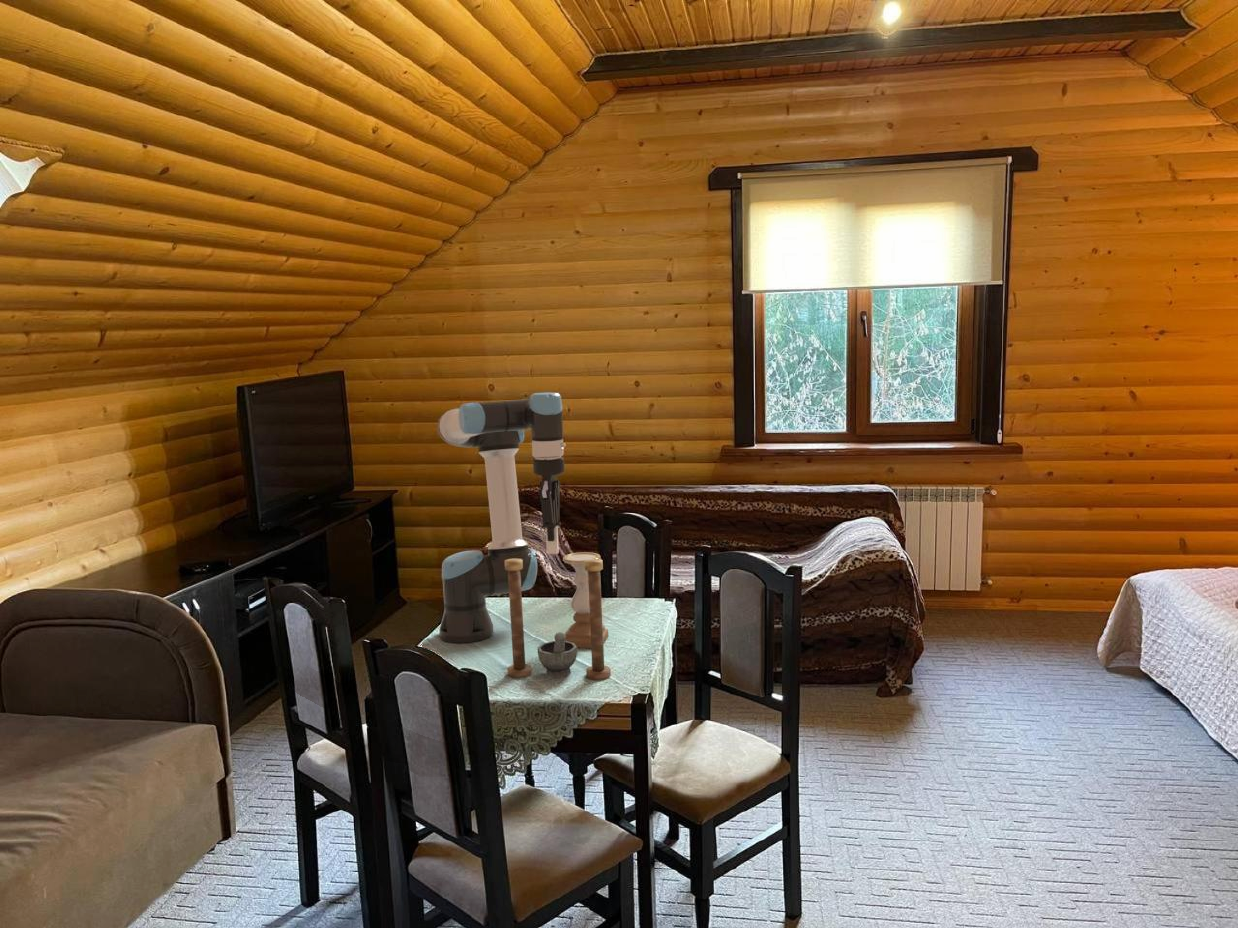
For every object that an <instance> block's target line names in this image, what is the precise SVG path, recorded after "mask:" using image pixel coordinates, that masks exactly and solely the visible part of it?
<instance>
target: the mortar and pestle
mask: <svg viewBox="0 0 1238 928" xmlns="http://www.w3.org/2000/svg"><path fill="white" fill-rule="evenodd" d="M565 639H566V635H565V633H564V632H557V633H555V635H554V640H553V641H548V642H543V643H542V644H540V645H539V646H537V655H538V660H539V661H540V664H541V665H542V667H543V668H544V669H545V675H546V677H547V678H551V679H563V678H567V677H569V676H570V675H571V673H572V672H571V671H572V670H571V667H572V666H573V665H574V664H575V662H576V659H577V656H578V648H577V646H576V645H575V643H572V642H568V641H565Z"/></svg>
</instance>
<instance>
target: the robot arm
mask: <svg viewBox="0 0 1238 928" xmlns="http://www.w3.org/2000/svg"><path fill="white" fill-rule="evenodd" d="M563 409H564V408H563V403H562V396H561V394H560V393H559V392H550V391H549V392H546V391H545V392H535V393H532V394H531V395H530V397H528V398H527V397H526V398H523V399H515V400H514V399H511V400H499V401H482V402H477V401H475V402H474V401H472V402H469V403H468V402H467V403H463V404H460V407H457V408H453V409H450V410H447V411H445V412H444V413H443V414H442V415H440V418H439V419H438V423H437V432H438V435H439V437H440V438H441V439H442V441H444V442H446V444H449V445H452V446H455V447H458V448H477V449H478V450H477V451H478V454H479V455H480V456H481V457H482V458H483V459H484V464H485V465H484V467H485V475H486V486H487V487H486V488H487V498H488V509H489V519H490V526H491V527H490V529H491V530H490V531H491V539H492V541H491V543H490V544H489V546H488V547H487V553H488V554H484V553H483V551H481V550H476V549H474V550H465V551H463V550H462V551H460V552H456V553H453V554H451V555H449V556H447V557H445V558H444V560H443V561H442V562H441V563H442V564H441V579H442V580H441V581H442V591H443V592H442V593H443V607H444V608H443V609H444V611H443V615H442V618H441V622H440V625H439V638H440V640H442V641H444V642H447V643H451V644H452V643H454V644H465V643H466V644H467V643H474V642H479V641H483V640H485V639H488V638H490V637H491V636H493V634H494V633H495V632H494V623H493V620H492V619H491V616H490V613H489V611H488V609H487V602H486V601H487V599H486V598H487V597H490V596H496V595H497V596H498V595H504V594H505V595H506V594H509V581H508V571H507V570H505V560H507V559H515V558H517V559H522V560H523V569H521V570H520V576H521V592H525V591H528V590H530V589H532V588H533V587H534V586H535V582H536V580H537V575H538V560H537V555H536V551H535V550H534V549H532V548H529V547H530V546H529V543H528V542H527V541H526V540H525V539H524V538H523V533H522V532H523V530H522V529H523V528H522V520H521V508H520V499H519V491H518V490H519V489H518V478H517V470H516V459H515V456H516V454H517V453H518V452H519V450H520V448H519V446H520V445H521V444H522V443H524V441H525V431H527V430H530V431H531V446H532V447H531V449H532V450H531V451H532V452H531V453H532V457H533V460H532V467H533V469H532V472H533V474H534V475H537V476H541V481H540V482H539V488H540V489H539V490H538V495H539V499H540V509H541V518H542V525H541V528H542V529H544V528H545V542H546V543H545V544H546V546H545V547H546V554H547V555H549V554H552V555H554V554H555V555H558V554H559V552H560V549H559V547H560V546H559V545H560V544H559V526H561V525H562V522H560V520H561V518H560V502H561V501H560V493H561V492H560V490H561V482H560V480H559V479H558V475H561V474H563V473H565V470H566V469H565V458H564V457H563V456H564V454H565V453H564V452H565V451H564V448H565V447H566V446H567V443H564V428H563V424H564V421H563Z"/></svg>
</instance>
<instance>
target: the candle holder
mask: <svg viewBox="0 0 1238 928" xmlns="http://www.w3.org/2000/svg"><path fill="white" fill-rule="evenodd" d="M588 559H602V558H601V555H600V554H599V553H596V552H592V551H591V552H587V551H583V552H574V553H573V552H572V553H568V554H566V555H564V556H563V557H562V561H563V562H564V563H565V564H568V565H572V567H573V568H574V570H575V576H574V577H573V579H572V580H573V582H574V584H575V586H576V591H575V593H574V595H573V597H572V598H571V600H570V608H571V610H572V611H573V612H575V613H574V614H573V618H572V619H573V621H574V622H575V623H572V624H571V625H570V626H569V627H568V629H567V630H566V631H565V633H564V634H565V635H566V639H565V641H568V642H572V643H575V645H576V646H577V649H591V631H590V608H589V586H588V571H586V570H585V562H584V561H585V560H588ZM602 625H603V645H604V644H605V642H606V641H607V639H608V637H609V630H608V628H606V626H605V624H602Z"/></svg>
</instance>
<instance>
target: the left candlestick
mask: <svg viewBox="0 0 1238 928" xmlns="http://www.w3.org/2000/svg"><path fill="white" fill-rule="evenodd" d="M521 569H523V560H522V559H517V558H515V559H507V560H505V570H507V571H508V581H509V593H508V596H509V609H510V610H509V612H510V613H509V614H510V615H509V616H510V630H511V632H510V634H511V646H512V647H511V648H512V649H511V651H512V663H513V664H512V665H509V666H508V667H507V668H506V669H507V676H508V677H509V678H512V679H524V678H527V677H530V676H531V675H532V674H533V671H532V670H533V669H532V665H531V664H528V663H527V664H526V654H525V653H526V651H525V637H524V636H525V634H524V617H523V615H524V614H523V598H522V597H523V596H522V591H521V576H520V570H521Z"/></svg>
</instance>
